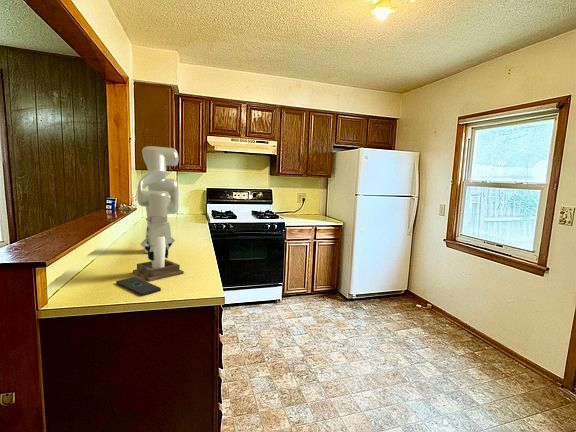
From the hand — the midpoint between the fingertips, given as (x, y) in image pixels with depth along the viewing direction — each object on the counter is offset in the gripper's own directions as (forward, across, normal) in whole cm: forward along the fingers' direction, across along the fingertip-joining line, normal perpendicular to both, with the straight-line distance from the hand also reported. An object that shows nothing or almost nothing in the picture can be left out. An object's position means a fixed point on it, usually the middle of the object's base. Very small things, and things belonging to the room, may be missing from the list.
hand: (158, 258), depth 140 cm
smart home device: (+8, -14, -11) cm, 20 cm away
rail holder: (+7, 0, 0) cm, 7 cm away
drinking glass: (+5, 0, 0) cm, 5 cm away
